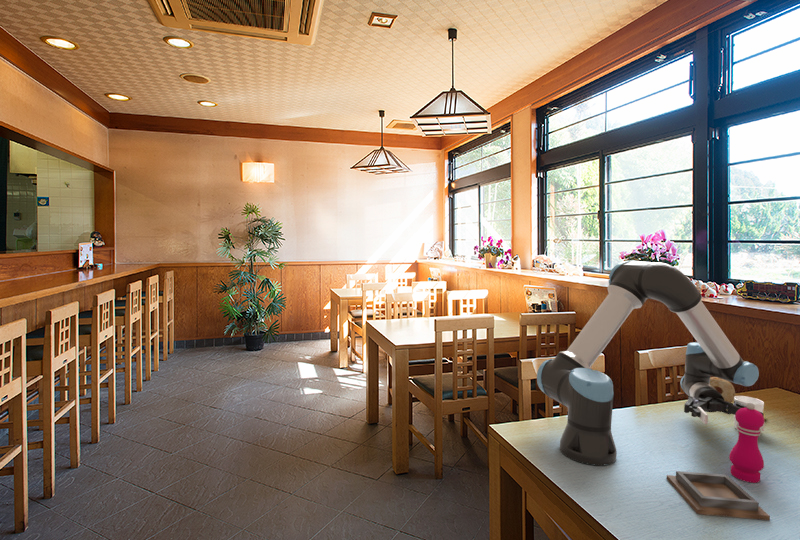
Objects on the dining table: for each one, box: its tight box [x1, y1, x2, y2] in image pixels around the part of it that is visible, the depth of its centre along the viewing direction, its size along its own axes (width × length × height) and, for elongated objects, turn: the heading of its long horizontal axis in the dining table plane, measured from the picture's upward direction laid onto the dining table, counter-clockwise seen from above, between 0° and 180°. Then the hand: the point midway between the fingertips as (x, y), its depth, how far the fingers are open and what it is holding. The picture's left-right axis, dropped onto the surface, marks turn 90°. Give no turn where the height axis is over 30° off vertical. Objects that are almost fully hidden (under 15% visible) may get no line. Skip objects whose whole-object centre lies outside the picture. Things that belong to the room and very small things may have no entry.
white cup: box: [733, 395, 765, 430], centre depth 148 cm, size 8×8×10 cm
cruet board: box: [666, 470, 771, 521], centre depth 108 cm, size 15×15×3 cm
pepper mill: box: [728, 403, 765, 484], centre depth 117 cm, size 7×7×20 cm
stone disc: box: [710, 376, 736, 403], centre depth 171 cm, size 10×4×10 cm, turn 39°
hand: (734, 422), depth 126 cm, fingers open, 13 cm apart
